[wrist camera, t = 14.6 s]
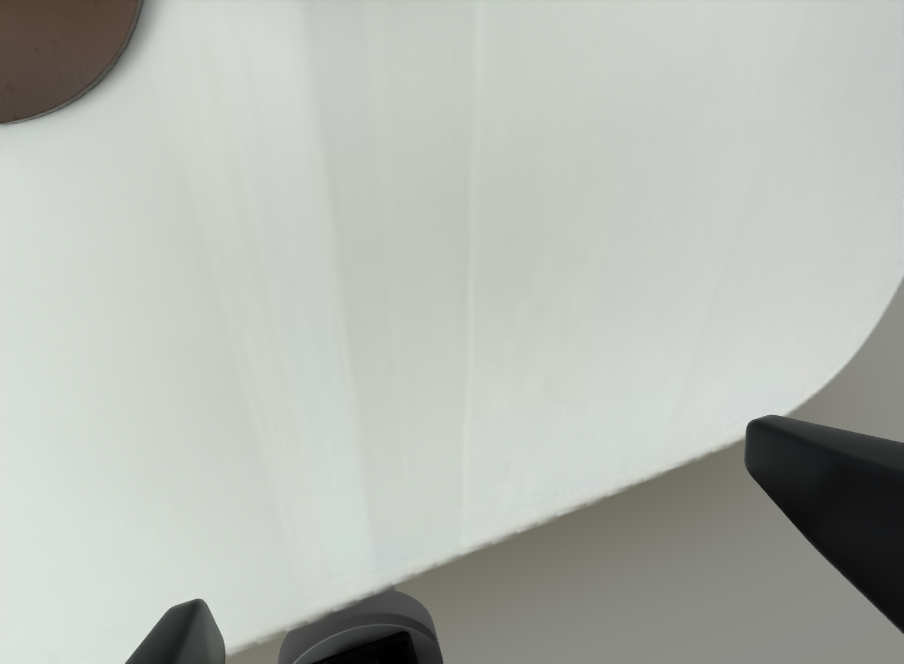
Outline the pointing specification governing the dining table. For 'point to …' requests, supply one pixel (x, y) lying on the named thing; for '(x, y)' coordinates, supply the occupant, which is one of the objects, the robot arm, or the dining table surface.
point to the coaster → (58, 51)
